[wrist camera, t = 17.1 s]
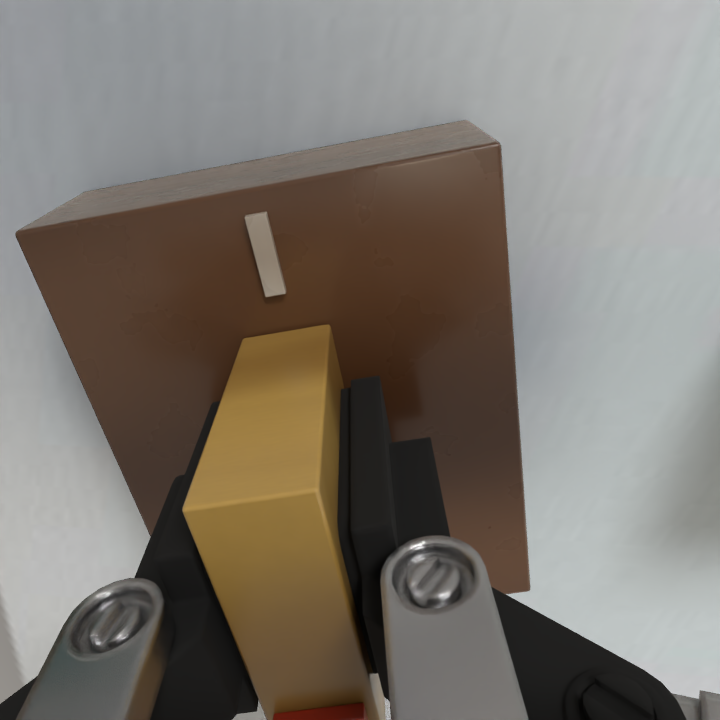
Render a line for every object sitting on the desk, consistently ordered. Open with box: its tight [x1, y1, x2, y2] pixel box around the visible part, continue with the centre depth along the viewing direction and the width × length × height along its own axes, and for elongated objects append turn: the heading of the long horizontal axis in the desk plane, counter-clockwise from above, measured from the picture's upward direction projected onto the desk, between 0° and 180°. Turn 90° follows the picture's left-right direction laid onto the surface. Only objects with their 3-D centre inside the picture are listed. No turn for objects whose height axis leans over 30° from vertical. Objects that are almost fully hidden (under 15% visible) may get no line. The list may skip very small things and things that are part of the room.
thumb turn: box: [182, 324, 386, 720], centre depth 10 cm, size 5×2×5 cm, turn 10°
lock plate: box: [16, 120, 530, 594], centre depth 13 cm, size 10×8×3 cm
